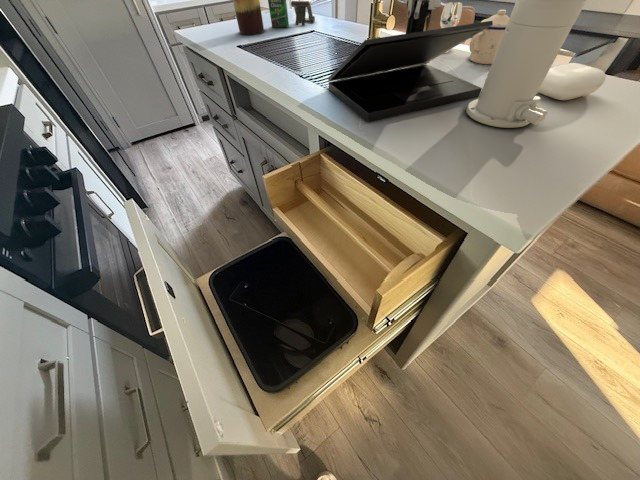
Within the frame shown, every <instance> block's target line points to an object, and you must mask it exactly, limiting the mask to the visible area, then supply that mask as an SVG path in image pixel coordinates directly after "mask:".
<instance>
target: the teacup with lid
mask: <svg viewBox="0 0 640 480" xmlns="http://www.w3.org/2000/svg"><path fill="white" fill-rule="evenodd" d="M506 13H507V10H506V9H499V10H497V14H493V15H491V16H490V17H488V18H485V19H482V20H481V21H480V22H486V21H493V25H492V26H490V27H488V28H486V29H485V30H483V31H481V32H479V33H478V34H476V35H474V36H473V37H471V38H470V42H469V51H470V56H469V60H470V61H471V62H473V63H476V64H480V65H492V62H493V60H494V57H495V54H496V52H497V49H498V47H499V44H500V41H501V39H502V36H503V34H504V31H505V28H506V26H507V23H508V21H509V19H510V16H509V15H507V14H506Z"/></svg>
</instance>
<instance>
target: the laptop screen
mask: <svg viewBox="0 0 640 480" xmlns="http://www.w3.org/2000/svg"><path fill="white" fill-rule="evenodd" d="M492 25H493V21H486V22H481V21H480V22H475V23H467V24H460V25H457V26H453V27H447V28H442V27H440V28H434V29H428V30H423V31H421V32H414V33H408V34H406V33H403V34H394V35H389V36H381V37H376V38H369V39H365V40H364V41H363V42H362V43H360V45H359V46H358V47H357V48H356V49H354V51H353V52H352V53H351V54H349V56H348V57H347V58H346V59H345V60H344V61H343V62H342V63H341V64H340V65H339V66H338V67H337V68H336V69H335V70H334V71H333V72H332V73H331V74H330V75H329V76H328V78H327V80H328V82H332V81H337V80H343V79H348V78H354V77H359V76H364V75H370V74H375V73H380V72H386V71H391V70H397V69H402V68H407V67H413V66H418V65H423V64H428V63H430V62H431V61H433V60H435V59H436V58H438V57H439V56H441V55H443V54H446V53H445V52H447V51H448V50H449V51H450V50H452V49H454V48H455V47H458V46H459V45H461V44H463V43H464V42H465V41H467V40H469V39H472V38H473V36H474V35H476V34H478V33H479V32H481V31H483V30H485V29H486V28H488V27H490V26H492Z"/></svg>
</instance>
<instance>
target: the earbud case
mask: <svg viewBox="0 0 640 480" xmlns="http://www.w3.org/2000/svg"><path fill="white" fill-rule="evenodd" d="M606 79H607V75H606V73H605V72H604V71H603V70H602V69H600V68H597V67H595V66H590V65H587V64H584V63H579V62H568V63H562V64H558V65H555V66H554V65H553V66H551V68H550V70H549V72H548V73H547V75H546V77H545V79H544V81H543V83H542V85H541V87H540V89H539V90H538V92H537V94H538V93H539V94H540V95H543V96H546V97H549V98H552V99H554V100H558V101H569V100H574V99H577V98H581V97H584V96H587V95H591V94H593V93H595V92H596V91H598V90H599V89H600V88H601V87H602V86H603V85H604V83H605V81H606Z"/></svg>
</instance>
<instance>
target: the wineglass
mask: <svg viewBox="0 0 640 480" xmlns="http://www.w3.org/2000/svg"><path fill="white" fill-rule="evenodd" d="M462 12H463V3H462V2H457V1H455V2H454V1H453V2H446V3H445V4H444V7H443V9H442V12H441V16H440V18H439V19H440V20H439V25H440V28H447V27H453V26H459V23H460V21H461V18H462ZM448 53H450V50H448V51H447V52H445V53H444V54H448Z"/></svg>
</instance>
